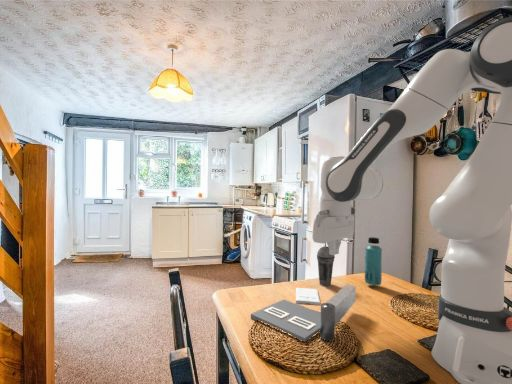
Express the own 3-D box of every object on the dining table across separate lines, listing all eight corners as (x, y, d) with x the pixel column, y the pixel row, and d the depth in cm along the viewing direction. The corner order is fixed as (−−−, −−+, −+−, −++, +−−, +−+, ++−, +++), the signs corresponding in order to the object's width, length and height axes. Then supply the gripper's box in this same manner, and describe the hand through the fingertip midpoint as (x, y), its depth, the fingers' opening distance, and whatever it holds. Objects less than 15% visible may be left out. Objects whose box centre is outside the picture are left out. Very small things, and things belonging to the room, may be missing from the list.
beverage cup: (336, 283, 115) (337, 235, 115) (331, 288, 109) (332, 238, 109) (319, 280, 119) (320, 234, 119) (313, 284, 113) (314, 236, 113)
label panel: (335, 321, 81) (335, 316, 81) (304, 342, 69) (304, 336, 69) (283, 302, 94) (283, 298, 94) (250, 317, 82) (250, 312, 82)
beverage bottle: (382, 285, 113) (383, 237, 113) (380, 290, 108) (381, 239, 108) (365, 282, 117) (366, 235, 117) (362, 287, 111) (363, 237, 111)
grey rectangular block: (331, 342, 69) (332, 310, 69) (318, 338, 71) (318, 306, 71) (356, 310, 88) (356, 285, 88) (344, 307, 90) (345, 282, 90)
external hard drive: (317, 293, 105) (320, 306, 93) (295, 291, 106) (295, 304, 94) (317, 289, 105) (320, 301, 93) (295, 287, 106) (295, 299, 94)
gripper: (327, 211, 76) (326, 261, 76) (358, 209, 91) (357, 251, 90) (307, 210, 80) (306, 257, 80) (340, 208, 95) (339, 248, 95)
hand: (334, 254), depth 85 cm, fingers closed
